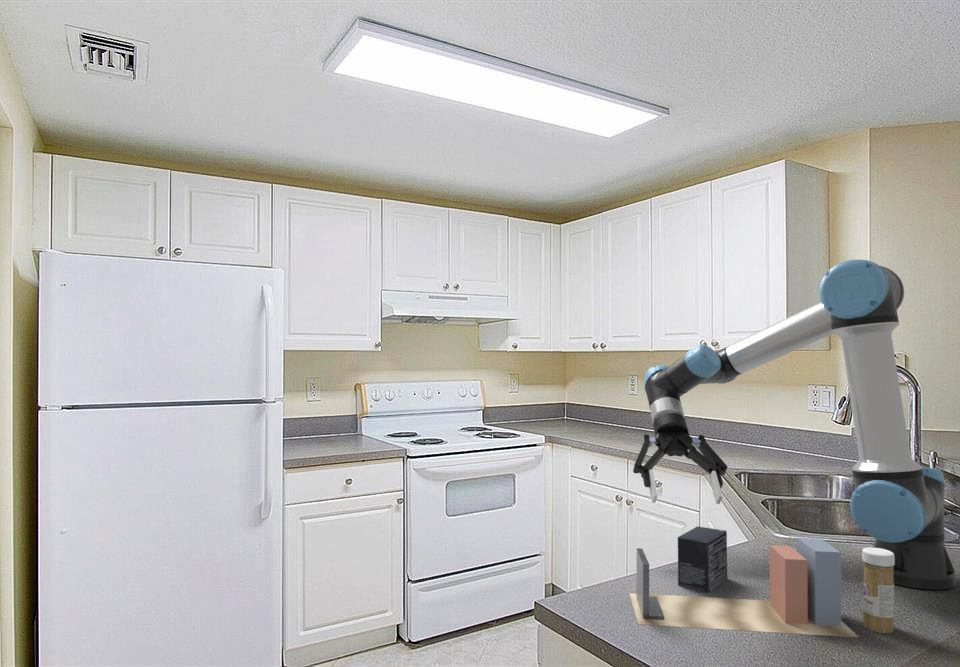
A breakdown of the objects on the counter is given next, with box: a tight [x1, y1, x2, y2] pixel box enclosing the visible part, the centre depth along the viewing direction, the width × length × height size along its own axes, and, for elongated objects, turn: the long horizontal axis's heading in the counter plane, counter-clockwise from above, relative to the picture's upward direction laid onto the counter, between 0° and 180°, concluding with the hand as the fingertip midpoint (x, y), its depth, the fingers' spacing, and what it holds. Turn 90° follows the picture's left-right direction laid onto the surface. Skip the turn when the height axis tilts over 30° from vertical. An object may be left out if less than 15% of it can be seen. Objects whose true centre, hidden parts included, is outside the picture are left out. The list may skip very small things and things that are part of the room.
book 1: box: [768, 544, 808, 624], centre depth 111 cm, size 4×8×10 cm, turn 173°
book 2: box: [796, 537, 842, 626], centre depth 111 cm, size 4×8×12 cm, turn 173°
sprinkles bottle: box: [861, 546, 895, 634], centre depth 106 cm, size 5×5×13 cm
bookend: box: [636, 548, 664, 620], centre depth 113 cm, size 4×9×9 cm, turn 173°
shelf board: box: [628, 592, 859, 638], centre depth 111 cm, size 34×14×1 cm, turn 83°
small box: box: [677, 525, 729, 593], centre depth 127 cm, size 11×6×10 cm, turn 141°
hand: (687, 499), depth 138 cm, fingers open, 13 cm apart
